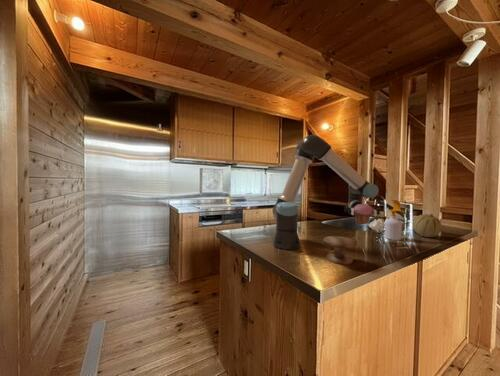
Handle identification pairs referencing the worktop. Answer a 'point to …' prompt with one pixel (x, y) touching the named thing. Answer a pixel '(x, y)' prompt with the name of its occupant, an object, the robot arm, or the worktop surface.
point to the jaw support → (377, 227)
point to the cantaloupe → (427, 225)
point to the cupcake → (362, 213)
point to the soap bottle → (393, 224)
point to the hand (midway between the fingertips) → (364, 212)
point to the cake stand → (339, 249)
